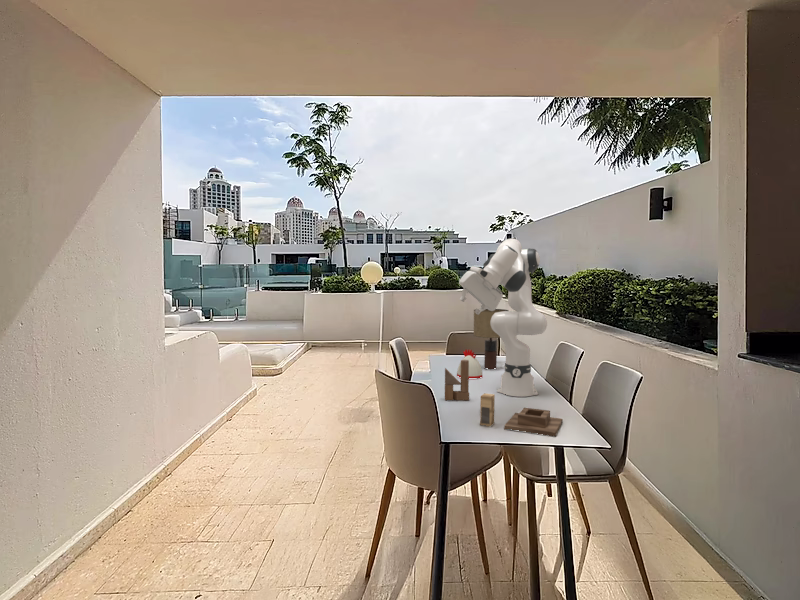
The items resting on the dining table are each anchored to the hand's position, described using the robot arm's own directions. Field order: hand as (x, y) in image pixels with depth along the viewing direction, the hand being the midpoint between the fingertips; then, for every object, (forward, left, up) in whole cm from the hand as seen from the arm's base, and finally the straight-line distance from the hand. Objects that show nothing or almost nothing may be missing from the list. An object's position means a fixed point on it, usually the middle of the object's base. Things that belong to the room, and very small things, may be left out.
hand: (468, 307), depth 197 cm
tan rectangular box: (+12, +9, -43) cm, 46 cm away
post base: (+9, +26, -43) cm, 52 cm away
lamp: (-94, -4, -44) cm, 104 cm away
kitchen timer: (-69, -12, -44) cm, 83 cm away
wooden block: (-19, -9, -44) cm, 48 cm away
